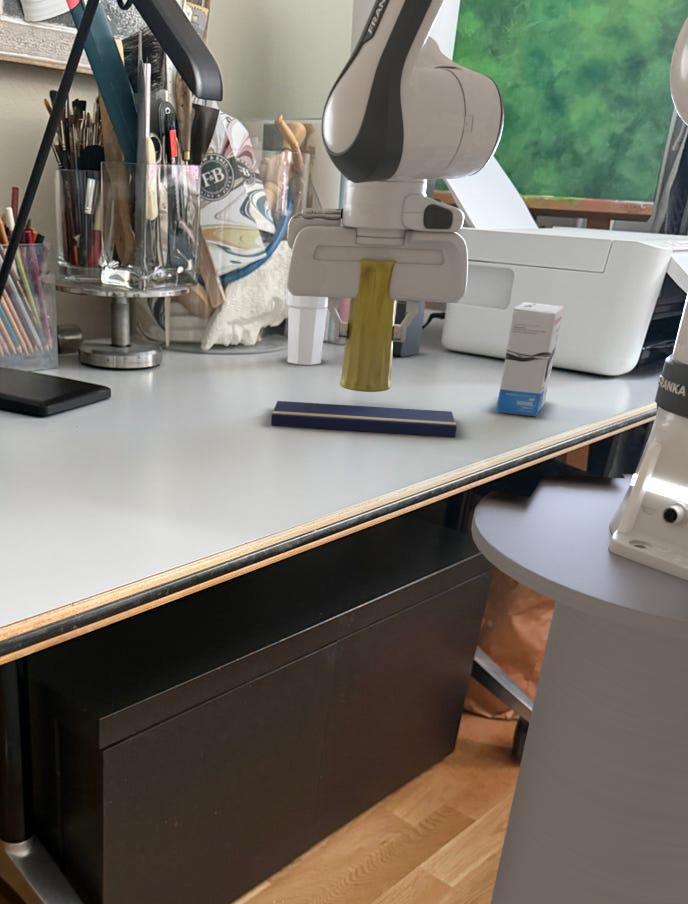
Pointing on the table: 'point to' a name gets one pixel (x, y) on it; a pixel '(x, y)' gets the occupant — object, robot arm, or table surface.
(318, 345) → the cup
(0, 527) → the table surface
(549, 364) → the ink box
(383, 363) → the vase
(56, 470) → the table surface
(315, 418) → the navy blue flat box
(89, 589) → the table surface
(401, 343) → the ink cartridge
